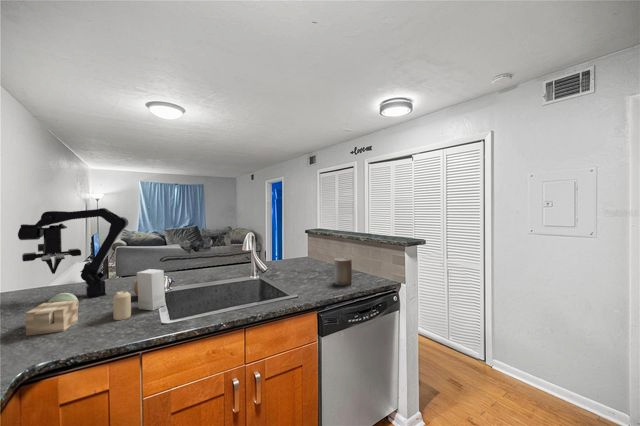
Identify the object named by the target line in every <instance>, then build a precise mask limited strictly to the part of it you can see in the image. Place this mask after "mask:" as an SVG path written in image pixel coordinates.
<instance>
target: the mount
mask: <svg viewBox="0 0 640 426" xmlns="http://www.w3.org/2000/svg"><path fill="white" fill-rule="evenodd" d="M78 301H79V299H78V300H71V301H68V302H66V303H65V304H63V305H62V306H60V307H59V308H57V309H56V310H54V322H52V323H51V324H49V325H42V326H34V319H33V314H35V313H36V312H38V311H40V310H42V309H43V308H45V307H47V306H48V305H50V304H52V302H49V303H48V302H43V303H41V304H39V305H37V306H36V307H34V308H32V309H29V311H27V312H25V336H34V335H41V334H42V335H43V334H51V333H59V332H65V331H66V330H67V329H68V328H69V327H71V326H72V325H74V323H76V322H77V321H78V320H79V309H78V308H79V306H78Z"/></svg>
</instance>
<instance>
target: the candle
mask: <svg viewBox="0 0 640 426" xmlns="http://www.w3.org/2000/svg"><path fill="white" fill-rule="evenodd" d="M131 297H132V294H131V293H130V292H128V291H127V290H121V291H117V292H116V293H115V294H114V295H113V297H112V307H113V310H112V311H113V312H112V313H113V314H112V315H113V320H114V321H122V320H126V319H129V318H130V317H131V316H132V301H131V299H132V298H131Z"/></svg>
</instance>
